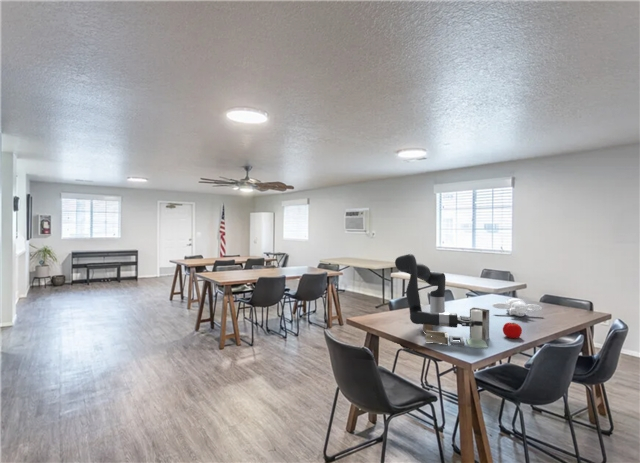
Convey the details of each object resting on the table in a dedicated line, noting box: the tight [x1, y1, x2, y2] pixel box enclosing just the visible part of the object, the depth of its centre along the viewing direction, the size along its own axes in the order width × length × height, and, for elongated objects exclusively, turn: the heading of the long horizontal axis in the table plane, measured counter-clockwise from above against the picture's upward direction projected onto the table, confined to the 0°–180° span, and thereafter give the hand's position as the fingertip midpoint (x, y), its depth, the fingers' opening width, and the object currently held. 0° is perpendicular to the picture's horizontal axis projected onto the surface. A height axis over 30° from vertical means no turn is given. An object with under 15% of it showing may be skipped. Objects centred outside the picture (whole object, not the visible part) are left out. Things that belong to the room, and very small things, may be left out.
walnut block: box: [422, 324, 434, 333], centre depth 207 cm, size 4×4×6 cm
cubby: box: [425, 330, 449, 345], centre depth 192 cm, size 12×11×4 cm
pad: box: [466, 338, 489, 349], centre depth 186 cm, size 12×9×1 cm
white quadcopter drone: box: [492, 297, 543, 317], centre depth 253 cm, size 24×30×11 cm
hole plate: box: [448, 335, 466, 347], centre depth 189 cm, size 12×7×2 cm, turn 163°
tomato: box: [502, 322, 523, 339], centre depth 198 cm, size 9×10×8 cm
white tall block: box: [470, 310, 482, 340], centre depth 186 cm, size 6×6×15 cm
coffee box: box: [469, 307, 490, 341], centre depth 197 cm, size 9×6×16 cm
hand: (481, 322), depth 185 cm, fingers closed on white tall block, 5 cm apart
